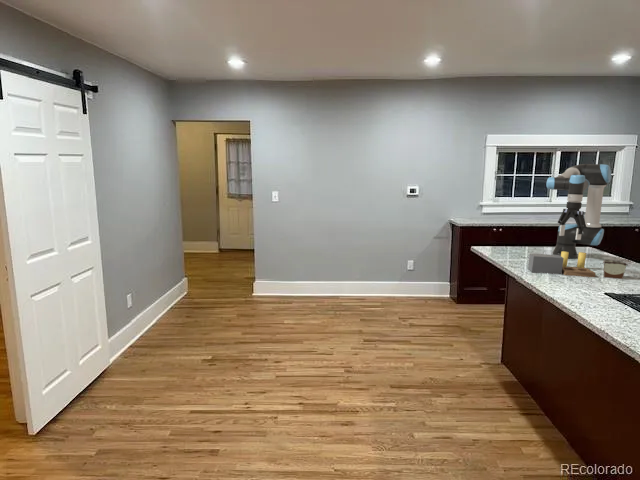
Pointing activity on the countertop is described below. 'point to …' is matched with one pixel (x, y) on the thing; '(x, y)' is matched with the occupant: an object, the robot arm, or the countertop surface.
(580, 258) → the peg
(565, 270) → the socket board
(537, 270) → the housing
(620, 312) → the countertop surface
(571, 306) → the countertop surface
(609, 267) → the food container
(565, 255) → the peg
